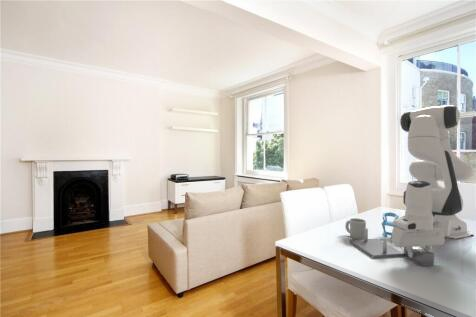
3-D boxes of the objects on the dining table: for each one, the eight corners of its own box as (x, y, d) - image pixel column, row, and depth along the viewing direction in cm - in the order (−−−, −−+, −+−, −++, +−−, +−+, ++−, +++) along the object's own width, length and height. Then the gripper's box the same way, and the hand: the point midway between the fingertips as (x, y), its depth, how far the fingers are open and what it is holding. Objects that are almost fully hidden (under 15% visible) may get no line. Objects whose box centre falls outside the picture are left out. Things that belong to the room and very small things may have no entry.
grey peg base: (376, 240, 115) (376, 226, 115) (404, 256, 98) (404, 239, 98) (349, 242, 113) (349, 227, 113) (373, 258, 96) (373, 241, 96)
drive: (413, 255, 98) (413, 243, 98) (433, 266, 89) (433, 253, 89) (403, 256, 98) (404, 244, 98) (422, 267, 89) (423, 253, 89)
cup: (361, 241, 114) (361, 223, 114) (342, 235, 122) (342, 218, 122) (368, 238, 119) (368, 220, 118) (349, 232, 127) (349, 216, 126)
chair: (379, 237, 120) (379, 213, 120) (383, 232, 126) (383, 210, 126) (397, 240, 115) (397, 216, 114) (400, 236, 121) (400, 213, 120)
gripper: (434, 218, 97) (434, 251, 98) (389, 220, 95) (388, 254, 96) (449, 223, 91) (449, 258, 92) (401, 225, 89) (401, 261, 89)
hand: (418, 256), depth 94 cm, fingers closed on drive, 4 cm apart
